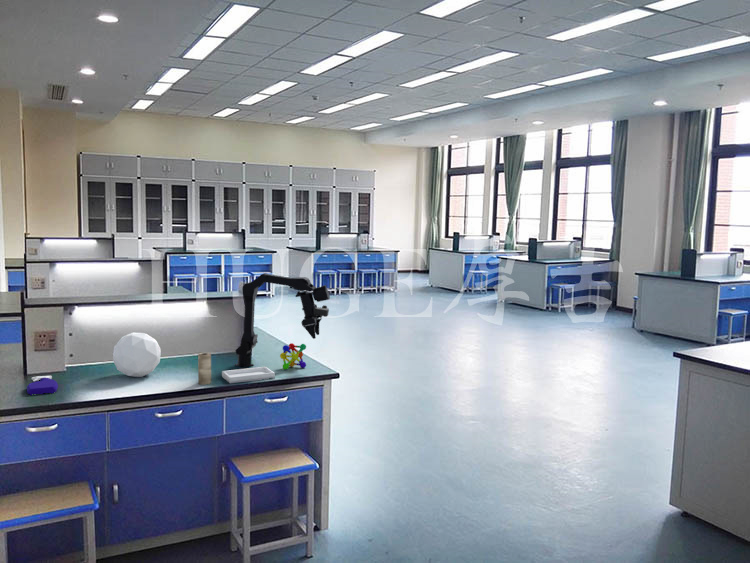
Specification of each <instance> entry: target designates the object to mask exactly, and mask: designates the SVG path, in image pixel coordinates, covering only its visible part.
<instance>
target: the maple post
mask: <svg viewBox="0 0 750 563" xmlns="http://www.w3.org/2000/svg"><path fill="white" fill-rule="evenodd" d="M197 356H198V357H197V358H198V359H197V364H198V365H197V367H198V368H197V369H198V372H197V373H198V374H197V375H198V378H197V381H198V382H197V384H198V385H199V386H200V385H202V386H204V385H205V386H206V384H208V385H210V383H211V384H212V353H211V352H200V353H198V354H197Z"/></svg>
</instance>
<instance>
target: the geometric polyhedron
mask: <svg viewBox="0 0 750 563" xmlns="http://www.w3.org/2000/svg"><path fill="white" fill-rule="evenodd" d="M161 351H162V349H161V347H160V345H159V343H158V341H157V339H155V338H154V337H153V336H150V335H149V334H147V333H146V332H135V331H133V332H130V333H128V334H125V335H123V336H121V337H120V339H119V340H118V341H117V343H116V344H115V345H114V346H113V352H112V353H113V355H112V361H113V363H114V366H115V368H116V369H117V371H119V372H120V373H123V374H124V375H126V376H128V377H135V378H142V377H145V376H146V375H148V374H151V373H153V371H154V370H155V369H156V368H157V367H158V365H159V364H160V362H161V353H162V352H161Z"/></svg>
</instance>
